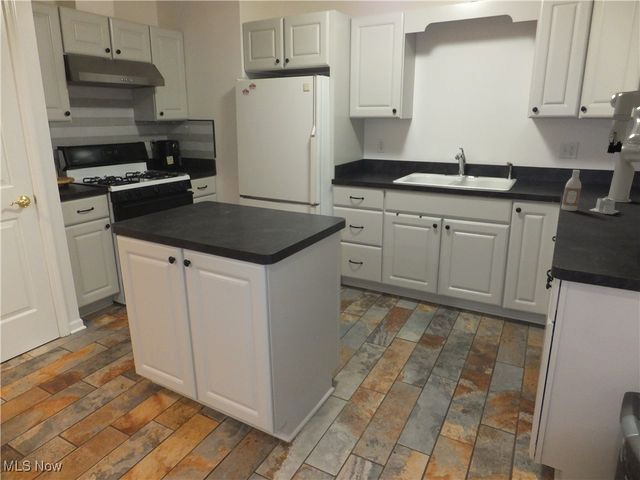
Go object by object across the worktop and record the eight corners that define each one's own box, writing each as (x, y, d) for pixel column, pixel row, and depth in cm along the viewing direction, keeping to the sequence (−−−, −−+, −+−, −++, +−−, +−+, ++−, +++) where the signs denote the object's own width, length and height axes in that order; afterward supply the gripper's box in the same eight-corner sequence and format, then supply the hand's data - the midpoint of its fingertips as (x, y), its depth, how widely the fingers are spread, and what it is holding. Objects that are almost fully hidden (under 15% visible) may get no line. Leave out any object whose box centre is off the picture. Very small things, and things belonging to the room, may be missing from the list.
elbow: (595, 208, 221) (597, 198, 219) (609, 209, 219) (611, 199, 217) (601, 213, 210) (603, 202, 208) (615, 214, 208) (618, 203, 206)
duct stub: (596, 208, 223) (599, 196, 222) (618, 211, 216) (621, 199, 214) (589, 210, 217) (591, 198, 215) (611, 214, 210) (614, 201, 208)
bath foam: (560, 210, 217) (568, 170, 211) (561, 207, 223) (568, 168, 217) (576, 211, 214) (584, 171, 208) (576, 209, 219) (584, 170, 214)
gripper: (618, 118, 226) (611, 151, 231) (607, 118, 215) (599, 153, 220) (635, 118, 220) (627, 152, 225) (624, 118, 210) (616, 154, 215)
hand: (614, 152), depth 223 cm, fingers open, 9 cm apart
